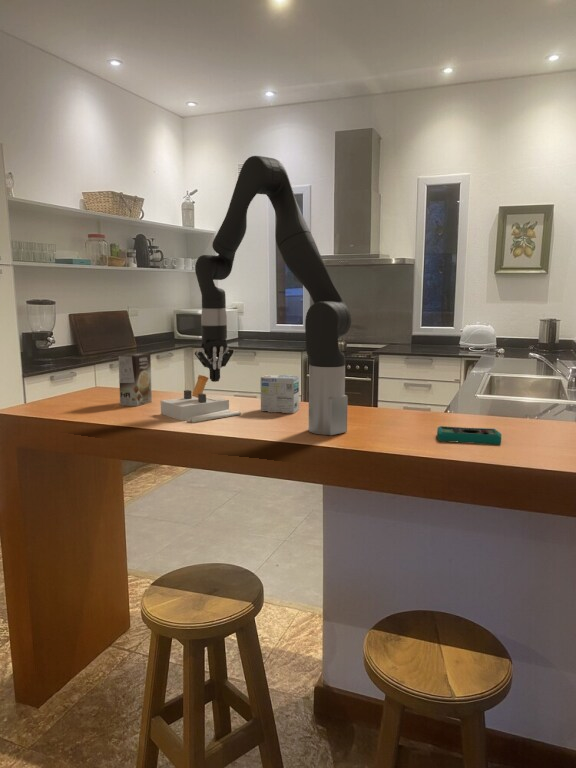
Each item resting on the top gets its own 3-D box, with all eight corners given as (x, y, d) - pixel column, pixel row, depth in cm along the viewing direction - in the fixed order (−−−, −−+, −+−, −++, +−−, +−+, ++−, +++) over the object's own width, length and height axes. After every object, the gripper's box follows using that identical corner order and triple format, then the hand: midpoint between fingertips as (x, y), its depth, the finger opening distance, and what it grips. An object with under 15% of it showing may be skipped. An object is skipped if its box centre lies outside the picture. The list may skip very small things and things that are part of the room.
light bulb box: (299, 409, 175) (299, 375, 173) (294, 414, 168) (294, 378, 167) (266, 407, 177) (266, 373, 176) (260, 412, 171) (259, 376, 169)
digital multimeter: (503, 446, 134) (503, 434, 134) (438, 443, 137) (438, 431, 136) (497, 439, 141) (498, 427, 141) (436, 436, 144) (436, 425, 143)
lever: (200, 398, 167) (208, 377, 168) (196, 397, 166) (204, 376, 167) (195, 397, 169) (203, 376, 170) (191, 395, 168) (199, 374, 169)
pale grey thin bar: (230, 413, 168) (230, 409, 168) (189, 422, 156) (189, 418, 156) (227, 413, 169) (227, 409, 169) (186, 422, 157) (186, 417, 157)
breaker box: (229, 413, 169) (228, 392, 168) (182, 420, 159) (181, 398, 158) (206, 407, 178) (206, 387, 177) (161, 414, 168) (160, 392, 167)
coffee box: (137, 406, 178) (135, 356, 176) (119, 405, 180) (117, 355, 178) (152, 401, 187) (150, 353, 185) (135, 400, 189) (133, 352, 187)
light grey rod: (240, 415, 166) (240, 411, 166) (193, 423, 156) (193, 418, 156) (238, 414, 167) (238, 410, 167) (191, 422, 157) (191, 418, 157)
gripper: (201, 325, 162) (203, 384, 165) (239, 323, 170) (240, 380, 173) (188, 324, 167) (189, 382, 170) (225, 322, 176) (226, 377, 179)
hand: (215, 381), depth 172 cm, fingers closed
